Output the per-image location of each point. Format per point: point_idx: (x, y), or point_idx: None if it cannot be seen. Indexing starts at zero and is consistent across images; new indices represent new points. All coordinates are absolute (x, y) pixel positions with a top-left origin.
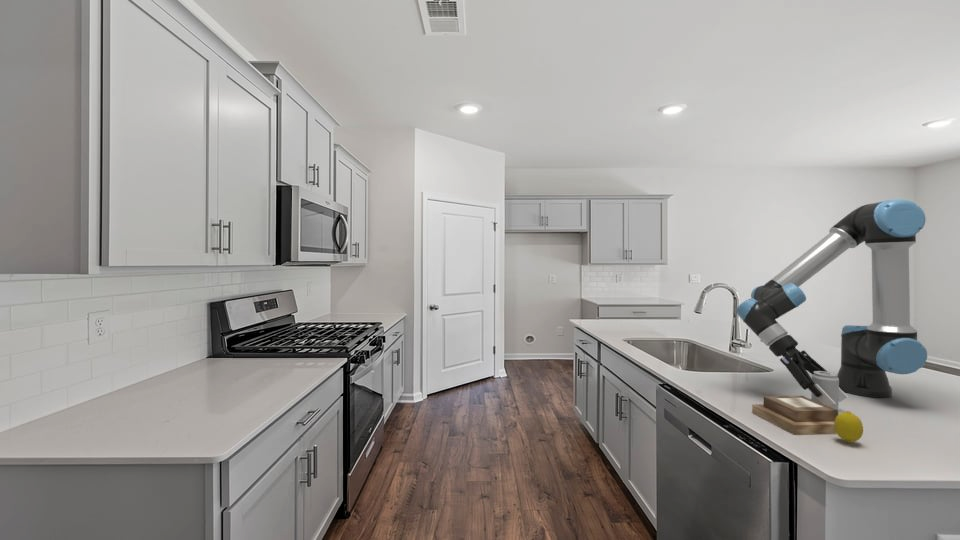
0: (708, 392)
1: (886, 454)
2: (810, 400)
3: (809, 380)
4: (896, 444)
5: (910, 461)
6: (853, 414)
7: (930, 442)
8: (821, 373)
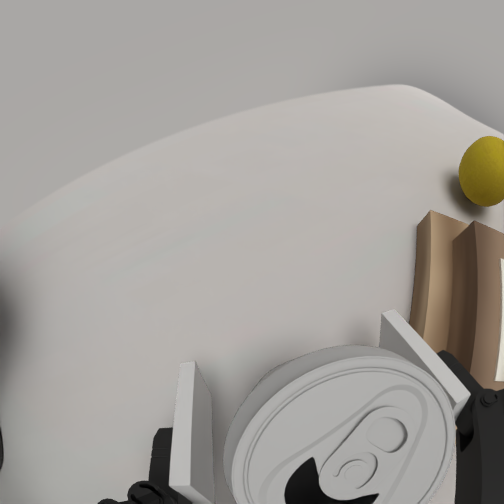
0: None
1: (434, 140)
2: (484, 347)
3: (500, 415)
4: (366, 148)
5: (415, 116)
6: (499, 139)
7: (263, 129)
8: (378, 487)
